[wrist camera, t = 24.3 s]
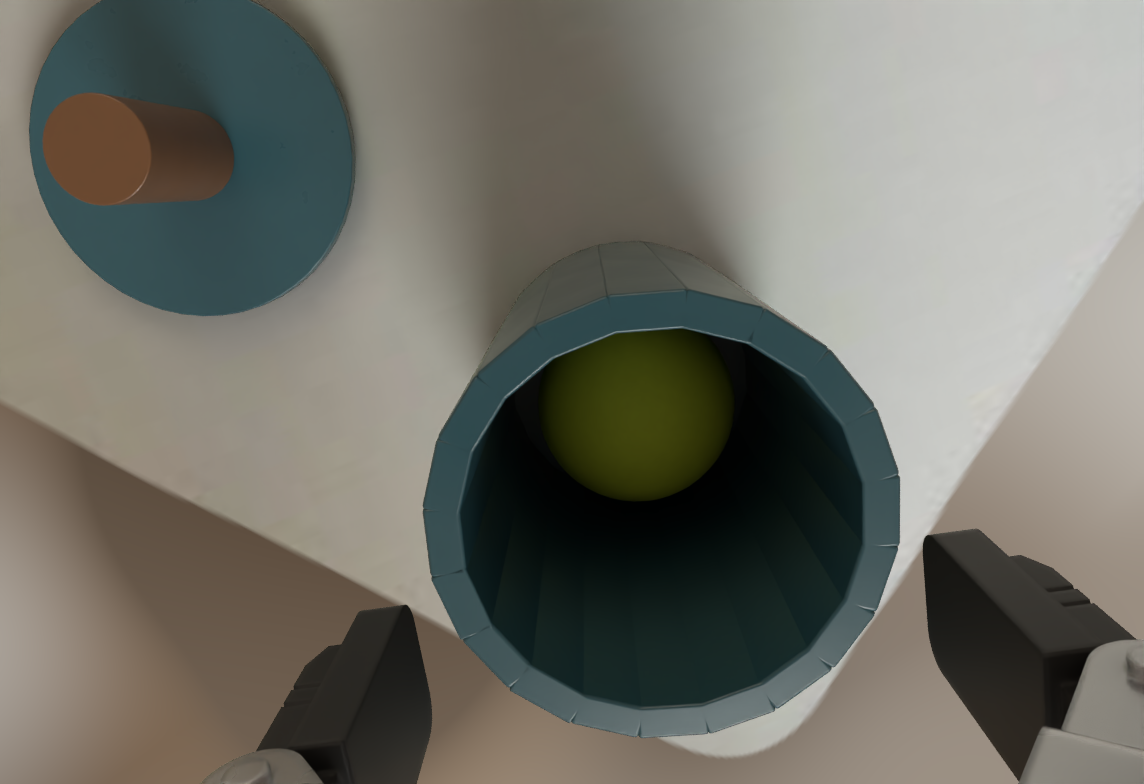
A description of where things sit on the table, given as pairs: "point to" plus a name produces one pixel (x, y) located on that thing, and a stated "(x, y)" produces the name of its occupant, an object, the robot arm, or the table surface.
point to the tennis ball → (638, 412)
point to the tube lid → (192, 152)
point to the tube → (662, 514)
